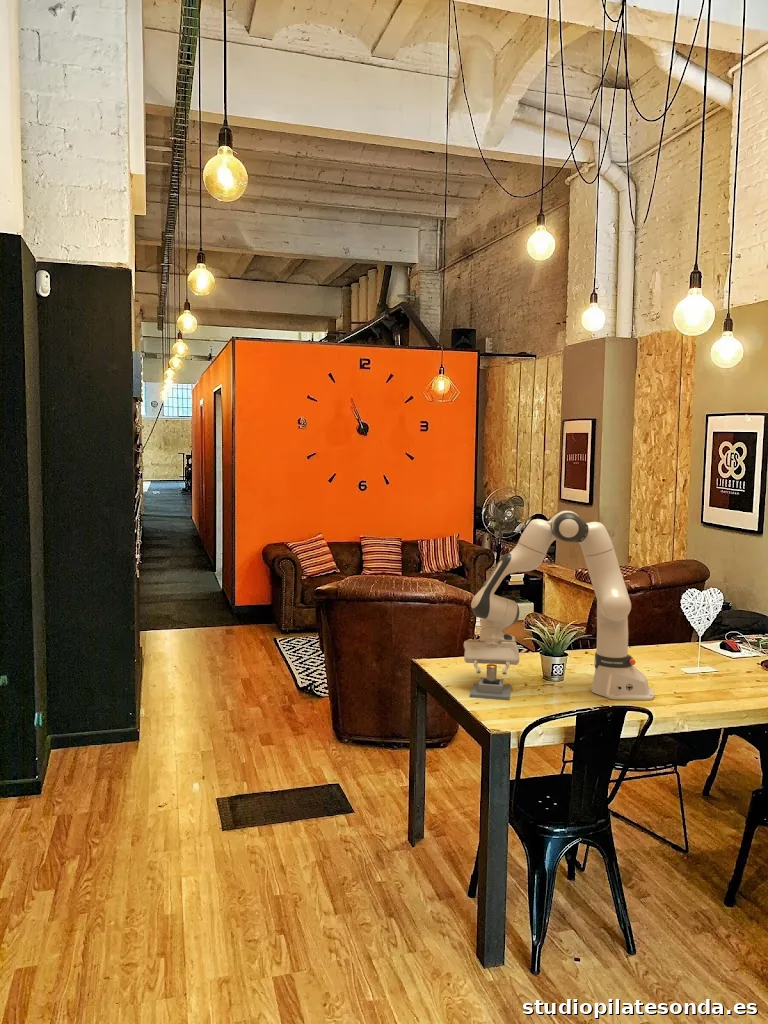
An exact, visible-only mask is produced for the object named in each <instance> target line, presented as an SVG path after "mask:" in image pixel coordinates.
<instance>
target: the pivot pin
mask: <svg viewBox="0 0 768 1024" xmlns="http://www.w3.org/2000/svg"><path fill="white" fill-rule="evenodd" d="M497 668H498V664H486V678H487V680H486V684H495V685H496V679H497V670H498V669H497Z"/></svg>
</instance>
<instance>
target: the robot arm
mask: <svg viewBox="0 0 768 1024" xmlns="http://www.w3.org/2000/svg"><path fill="white" fill-rule="evenodd" d="M557 540H560V541H561V542H565V543H579V546H580V549H581V551H582V556H583V558H584V561H585V565H586V568H587V571H588V575H589V578H590V582H591V585H592V588H593V592H594V594H595V598H596V601H597V602H596V651H595V653H594V662H593V663H594V674H593V679H592V684H591V686H590V691H591V692H592V693H594V694H596V695H599V696H602V697H606V698H607V699H609V700H626V701H628V700H629V701H630V700H632V701H634V700H635V701H637V700H638V701H651V700H654V699H655V694H656V693H655V691H654V690H653V688H652V687H650V686H649V682H648V679H647V676H646V675H645V674H644V673H642V672H641V671H640V670H639V669H638V668H636V667H635V666H634V665H636V660H635V659H634V658H633V657H632V656H631V654H628V653H629V651H628V650H629V618H628V617H629V614H630V612H631V610H632V602H631V599H630V596H629V593H628V589H627V586H626V583H625V580H624V577H623V573H622V570H621V568H620V564H619V561H618V558H617V555H616V551H615V548H614V544H613V541H612V538H611V536H610V534H609V532H608V530H607V529H606V526H605V525H604V524H603V523H601V522H599V521H590V522H585V521H584V520H583V518H582V517H580V516H579V515H578V514H577V513H576V512H574V511H572V510H566V509H565V510H560V511H558V512H556V513H555V514H554V515H552V516H550V517H549V518H548V519H547V520H544V519H540V518H536V519H532V520H530V521H529V523H528V524H527V526H526V527H525V528H524V530H523V532H522V533H521V536H520V537H519V539H518V541H517V544H516V545H515V547H514V548H513V549H512V550H511V551H509V552H508V553H504V554H503V555H502V556H501V557H500V559H499V560H498V561H497V562H496V564H495V565H494V567H493V569H492V570H491V572H490V574H488V576H487V578H486V580H485V581H484V583H483V584H482V586H481V587H480V588H479V590H478V591H477V592H476V593H475V594H474V596H473V597H472V599H471V600H470V601H471V602H470V607H471V608H470V609H471V611H472V613H473V615H474V616H475V617H476V618H480V619H479V620H480V621H479V623H480V630H479V639H470V638H468V639H467V640H464V642H463V649H464V653H463V655H464V657H463V660H464V662H465V663H468V664H473V667H474V668H475V670H476V674H481V667H480V666H478V664H483V665H484V664H486V665H488V664H494V665H505V667H504V668H503V667H502V675H505V676H506V675H507V674H508V672H507V671H508V669H509V668H510V666H517V665H518V664H519V663H520V653H519V652H520V651H519V646H518V644H517V643H516V637H515V636H514V635H512V634H508V633H505V632H504V629H507V628H509V627H511V626H512V625H515V624H516V623H517V622H518V621H519V618H520V608H519V604H518V602H516V601H514V600H512V599H510V598H509V599H508V598H506V597H503V596H500V595H497V594H495V592H496V591H497V589H498V588H499V586H500V584H501V583H502V581H503V580H504V579H505V578H506V576H508V575H509V574H512V573H517V572H518V573H519V572H520V573H521V572H522V573H523V572H524V573H525V572H531V571H534V570H537V569H538V568H539V567H541V565H542V563H543V561H544V560H545V557H546V556H547V553H548V550H549V548H550V546H551V544H552V543H553V542H554V541H557Z"/></svg>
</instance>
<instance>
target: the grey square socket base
mask: <svg viewBox="0 0 768 1024" xmlns="http://www.w3.org/2000/svg"><path fill="white" fill-rule="evenodd" d="M486 680H487V677H480V678H479V682H473V684H472V687H471V690H470V693H469V698H478V699H490V700H506V701H507V700H508V701H510V700H511V699H510V698H511V693H512V685H510V684H504V678H496V685H495V684H486Z"/></svg>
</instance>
